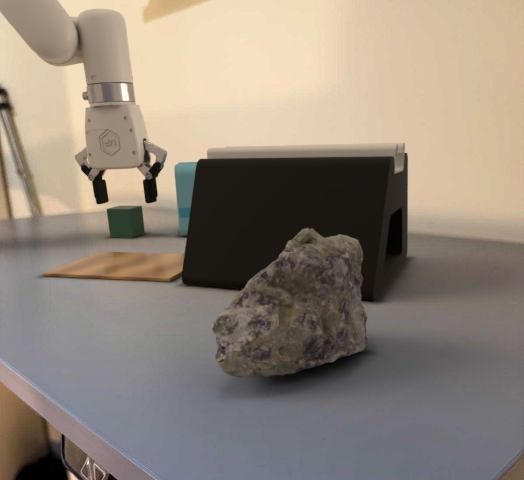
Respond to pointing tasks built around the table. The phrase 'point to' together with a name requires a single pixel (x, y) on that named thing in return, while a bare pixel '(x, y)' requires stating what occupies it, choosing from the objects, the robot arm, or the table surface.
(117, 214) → the dark green block
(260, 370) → the mineral rock
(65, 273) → the wooden board
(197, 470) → the table surface
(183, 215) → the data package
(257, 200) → the device stand
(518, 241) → the table surface
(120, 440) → the table surface
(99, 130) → the robot arm
